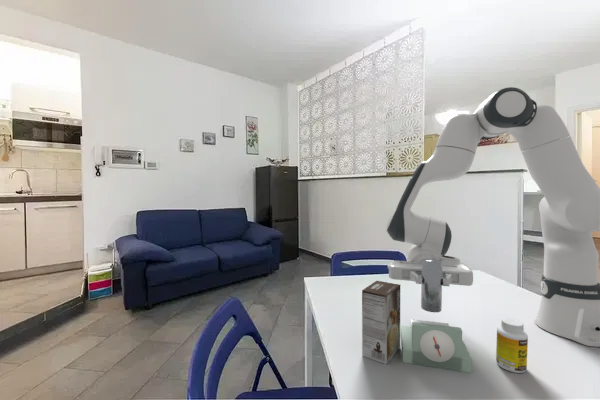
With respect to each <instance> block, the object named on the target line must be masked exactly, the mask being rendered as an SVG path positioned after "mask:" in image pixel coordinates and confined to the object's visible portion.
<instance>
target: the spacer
mask: <svg viewBox="0 0 600 400" xmlns="http://www.w3.org/2000/svg"><path fill="white" fill-rule="evenodd" d="M442 266H443V261H442V260H439V259H434V258H423V259H422V284H420V285H421V286H420V288H421V294H420V295H421V296H420V308H421V309H422V310H424V311H426V312H429V313H441V312H442V307H443V305H442V304H443V303H442V300H443V299H442V298H443V286H442Z"/></svg>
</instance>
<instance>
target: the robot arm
mask: <svg viewBox="0 0 600 400" xmlns="http://www.w3.org/2000/svg"><path fill="white" fill-rule="evenodd" d="M506 133H508V134H510V135H511V136H512V137H514V139H515V140H516V141H517V143H518V146H519V149H520V151H521V154H522V156H523V159H524V161H525V164H526V166H527V169H528V172H529V174H530V177H531V178H532V180H533V181H534V182H535V183H536V185H537V187H538V189H540V192H541V194H542V195H543V197H542V198H541V200H540V202H539V204H538V210H539V215H540V224H541V225H540V226H541V227H540V228H541V235H542V241H543V254H544V255H543V274H542V275H541V280H540V281H541V282H540V293H541V300H540V304H539V309H538V312H537V315H536V316H535V319H534V323H535V324H536V325H537V326H538V327H540V328H541V329H542V330H544V331H547V332H549V333H551V334H554V335H557V336H559V337H562V338H566V339H569V340H571V341H574V342H577V343H579V344H582V345H584V346H588V347H596V348H597V347H600V283H599V281H598V280H599V259H600V258H599V257H600V256H599V251H598V250H597V248H596V245H595V242H594V238H593V233H595V232H600V187H599V185H598V184H597V182H596V181H595V179H594V177H592V175H591V174H590V172H589V171H588V169H587V167H585V165H584V163H583V162H582V161H583V160H582V159H581V158H580V155H579V152H578V150H577V148H576V146H575V144H574V141H573V138H572V136H571V135H570V131H569V130H568V128H567V126H566V124H565V122H564V120H563V119H562V118H561V116H560V114H559V113H558V112H557V111H556V109H555V108H553V107H552V106H551V105H547V104H541V105H537V102H536V101H535V100H534V99H532V98H531V96H530V95H528V93H527V92H525V91H524V90H522V89H520V88H519V87H512V86H511V87H504V88H501V89H498V90H496V91H494V92H493V93H491V94H490V95H489V96H488V97H487V98H486V99H484V100H483V101H482V102H481V103H480V104H479V106H478V107H477V109H476V110H475V111H474V112H473V113H472V114H471V113H469V114H467V113H457V114H454V115H451V116H450V117H449V118H447V120H446V121H445V124H444V125H443V127H442V129H441V132H440V134H439V136H438V139H437V141H436V145H435V148H434V151H433V153H432V154H431V156H430V157H429V158H428V159H427V160H424V161H421V162H420V163H419V164H418V166H417V167H416V169H415V170H414V172H413V174H412V176H411V178H410V179H409V182H408V184H407V186H406V187H405V188H404V189H405V190H404V191H403V194H402V196H401V198H400V200H399V202H398V204H397V206H396V208H395V209H394V211H393V212H392V213H391V215H390V217H389V218H388V220H387V224H386V232H387V234H388V235H389V237H390V238H391V239H392V240H393V241H396V242H401V243H406V244H410V245H411V246H410V247H409V248H408V250H407V254H406V260H392V261H391V262H390V263H388V264H387V269H388V278H389V279H391V280H397V281H399V280H400V281H408V282H409V281H411V282H414V283H415V284H416V285H421V284H422V259H423V258H434V259H439V260H442V261H443V266H442V287H450V285H457V286H465V287H467V286H468V287H470V286H472V285H473V284H474V271H473V270H472V269H471V268H470V267H469V266H468V265H466V264H465V263H463V262H461V259H460V258H458V257H454V256H449V255H446V254H447V253H448V251H449V249H450V246H451V243H452V237H453V236H452V230H451V228H450V226H449V224H448V222H447V221H446V220H442V219H439V218H435V217H432V216H428V215H427V216H426V215H423V214H419V213H415V212H413V211H412V210H411V209H412V206H413V205H414V203H415V200H416V198H417V197H418V195H419V192H420V190H421V189H422V188H423V187H424V186H426V185H427V184H429V183H434V182H435V183H436V182H443V181H444V182H445V181H450V180H451V181H452V180H455V179H458V178H461V177H462V176H464V175H465V174H467V173H468V171H469V170H470V169H471V167H472V164H473V161H474V160H475V156H476V152H477V149H478V145H479V143H480V141H481V140H492V139H495V138H497V137H499V136H502V135H504V134H506Z"/></svg>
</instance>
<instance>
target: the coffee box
mask: <svg viewBox="0 0 600 400" xmlns="http://www.w3.org/2000/svg"><path fill="white" fill-rule="evenodd" d="M361 291H362V293H361V305H362V307H361V310H362V312H361V315H362V316H361V333H362V334H361V336H362V337H361V339H362V340H361V341H362V342H361V350H362V351H361V353H362V357H364V358H368V359H370V360H373V361H376V362H378V363H381V364H384V365H388V364H389V363H390V362H391V360H392V359H393V358H394V357H395V355H396V354H397V352H398V351H399V349H400V348H401V284H400V283H399V284H398V283H392V282H387V281H382V280H381V281H380V280H376V281H374V282H372V283H371V284H369V285H368V286H366V287H365V288H363V289H361Z"/></svg>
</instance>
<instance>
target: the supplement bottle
mask: <svg viewBox="0 0 600 400" xmlns="http://www.w3.org/2000/svg"><path fill="white" fill-rule="evenodd" d="M500 323H501V324H500V325H498V326H497V328H496V350H495V351H496V352H495V353H496V354H495V361H496V364H497V365H498V366H499V367H500V368H502V369H504V370H506V371H508V372H510V373H514V374H522V373H525V372H526V371H527V367H528V342H529V340H528V338H529V336H528V334H527V332H525V328H524V323H523V322H522V321H520V320H519V319H515V318H511V317H510V318H509V317H503V318H502V319H501V322H500Z"/></svg>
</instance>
